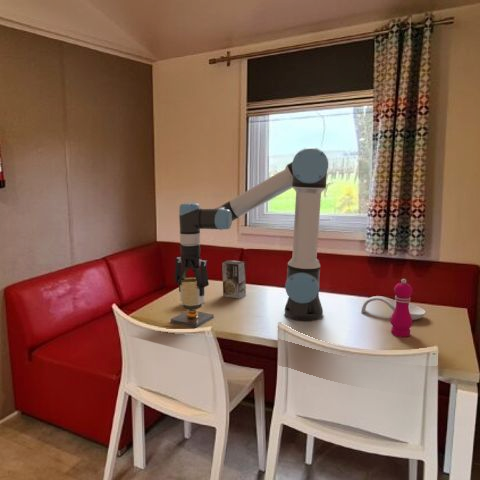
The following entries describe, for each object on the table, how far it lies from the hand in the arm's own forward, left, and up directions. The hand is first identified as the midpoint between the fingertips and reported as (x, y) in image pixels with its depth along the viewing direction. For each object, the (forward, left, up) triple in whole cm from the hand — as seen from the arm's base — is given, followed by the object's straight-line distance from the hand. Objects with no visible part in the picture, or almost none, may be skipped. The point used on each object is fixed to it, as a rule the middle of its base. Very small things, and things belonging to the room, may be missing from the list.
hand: (191, 302), depth 156 cm
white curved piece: (-68, -42, -8) cm, 80 cm away
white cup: (+11, -18, -7) cm, 22 cm away
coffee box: (+1, -34, -7) cm, 35 cm away
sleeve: (0, 0, 0) cm, 0 cm away
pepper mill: (-73, -24, -7) cm, 77 cm away
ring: (0, 0, -2) cm, 2 cm away
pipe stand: (0, 0, -7) cm, 7 cm away
